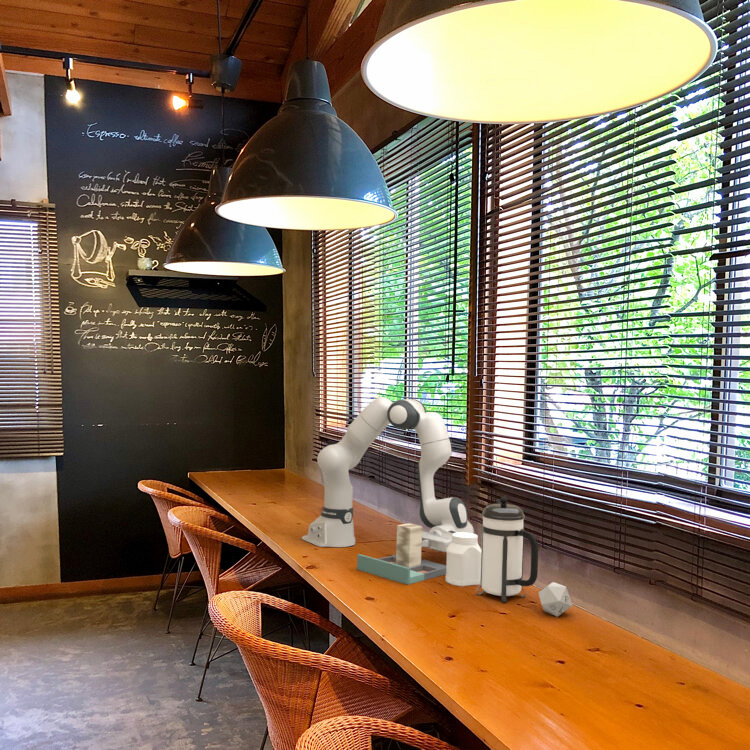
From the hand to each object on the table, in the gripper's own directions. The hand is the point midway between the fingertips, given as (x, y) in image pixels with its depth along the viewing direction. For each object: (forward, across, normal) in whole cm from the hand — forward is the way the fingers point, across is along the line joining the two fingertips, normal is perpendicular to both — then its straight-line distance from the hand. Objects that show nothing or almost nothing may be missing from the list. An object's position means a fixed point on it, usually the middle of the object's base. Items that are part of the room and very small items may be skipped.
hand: (414, 543), depth 240 cm
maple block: (+3, 0, +6) cm, 7 cm away
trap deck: (+5, 0, +8) cm, 10 cm away
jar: (-1, +21, +9) cm, 22 cm away
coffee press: (+2, +39, +8) cm, 40 cm away
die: (+4, +57, +8) cm, 57 cm away
